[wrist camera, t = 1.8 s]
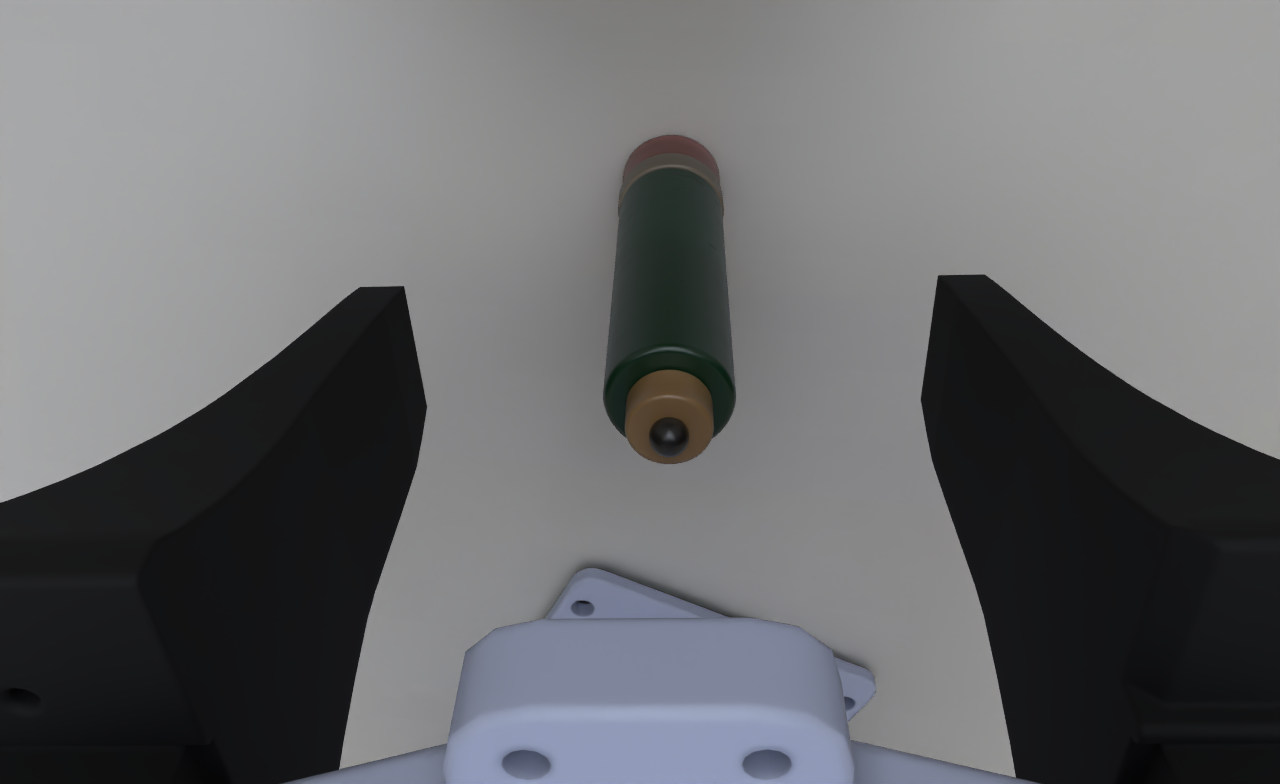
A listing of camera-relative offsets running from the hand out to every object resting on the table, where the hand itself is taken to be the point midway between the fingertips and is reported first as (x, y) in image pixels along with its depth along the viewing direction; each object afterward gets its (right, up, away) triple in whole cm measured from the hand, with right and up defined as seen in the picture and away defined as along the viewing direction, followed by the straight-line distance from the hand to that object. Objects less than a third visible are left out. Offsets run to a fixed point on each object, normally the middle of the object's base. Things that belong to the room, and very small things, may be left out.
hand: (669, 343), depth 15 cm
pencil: (0, +3, +4) cm, 5 cm away
